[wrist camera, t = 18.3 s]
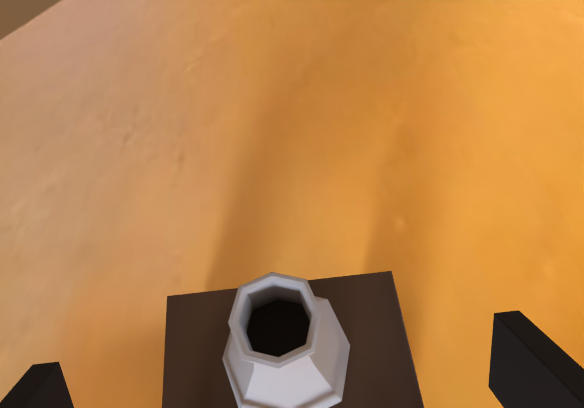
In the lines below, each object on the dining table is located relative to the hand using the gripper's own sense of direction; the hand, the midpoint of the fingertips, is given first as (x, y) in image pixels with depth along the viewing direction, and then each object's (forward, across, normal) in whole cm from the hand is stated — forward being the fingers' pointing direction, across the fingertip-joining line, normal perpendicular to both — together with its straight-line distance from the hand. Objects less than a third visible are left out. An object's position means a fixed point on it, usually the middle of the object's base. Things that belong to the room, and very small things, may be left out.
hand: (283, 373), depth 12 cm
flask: (+9, 0, -6) cm, 11 cm away
